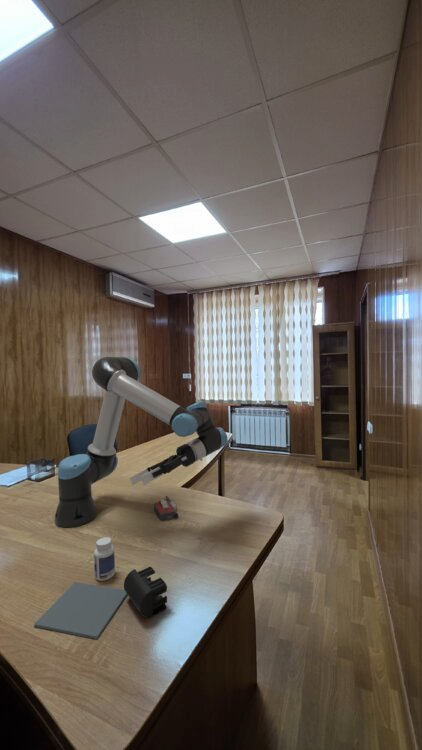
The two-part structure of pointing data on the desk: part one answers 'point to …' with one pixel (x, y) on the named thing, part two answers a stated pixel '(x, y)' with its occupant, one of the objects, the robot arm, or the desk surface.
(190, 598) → the desk surface
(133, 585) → the end cap
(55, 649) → the desk surface
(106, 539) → the pill bottle
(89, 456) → the robot arm
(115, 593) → the mat
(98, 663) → the desk surface
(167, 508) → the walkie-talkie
